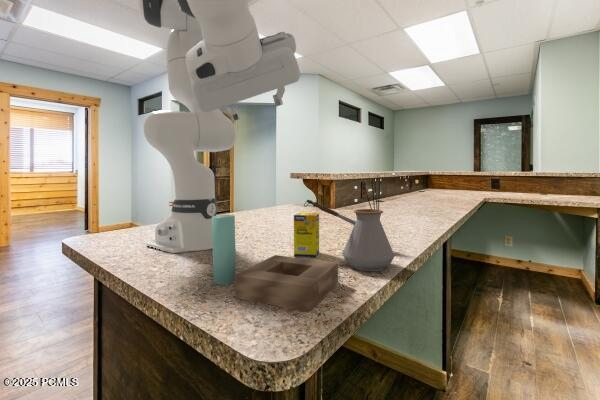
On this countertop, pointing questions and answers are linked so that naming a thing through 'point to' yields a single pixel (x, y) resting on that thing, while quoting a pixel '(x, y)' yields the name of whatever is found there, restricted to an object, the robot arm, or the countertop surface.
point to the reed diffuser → (373, 194)
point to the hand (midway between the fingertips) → (257, 111)
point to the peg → (224, 249)
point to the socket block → (287, 282)
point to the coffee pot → (365, 240)
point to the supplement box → (306, 234)
